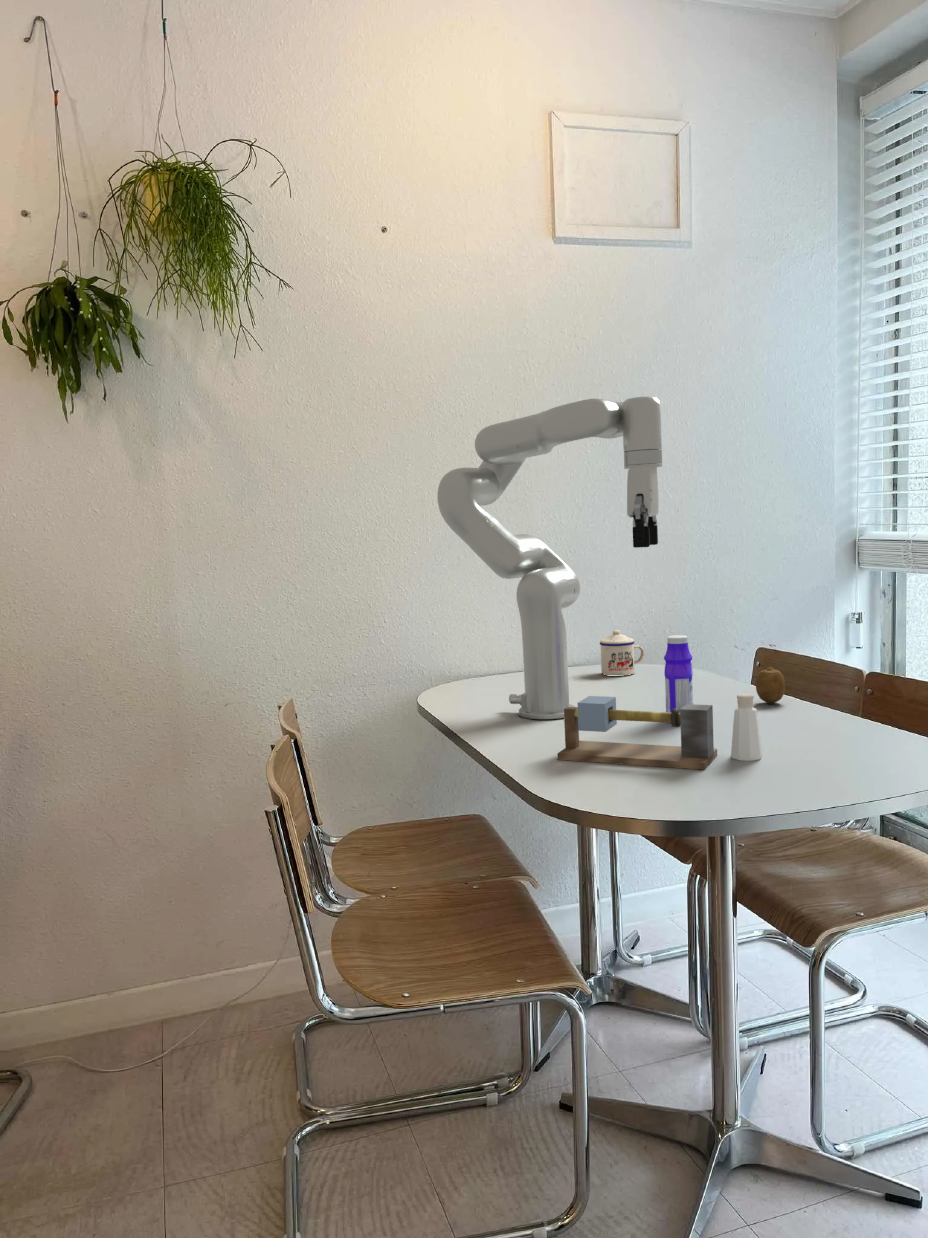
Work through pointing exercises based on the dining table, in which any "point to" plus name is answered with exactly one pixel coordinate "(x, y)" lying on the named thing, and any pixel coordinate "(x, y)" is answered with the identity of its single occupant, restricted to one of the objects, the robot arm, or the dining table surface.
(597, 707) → the sleeve
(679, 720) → the rod stand
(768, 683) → the fruit
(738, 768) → the dining table surface
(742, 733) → the pepper shaker
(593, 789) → the dining table surface
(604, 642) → the teacup with lid
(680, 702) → the bottle
